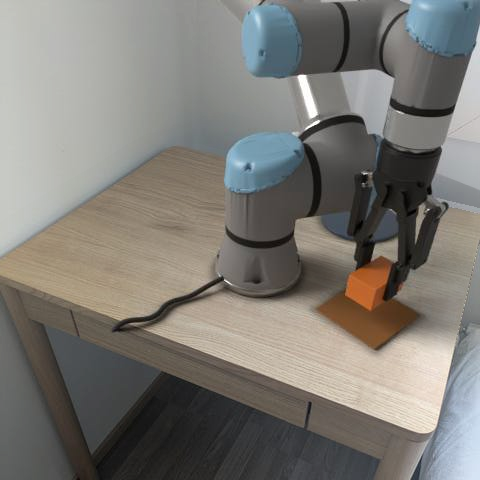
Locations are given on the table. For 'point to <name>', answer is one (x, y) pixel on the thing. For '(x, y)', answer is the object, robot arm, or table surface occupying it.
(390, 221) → the plate
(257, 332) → the table surface
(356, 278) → the orange rectangular block
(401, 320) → the cork mat
